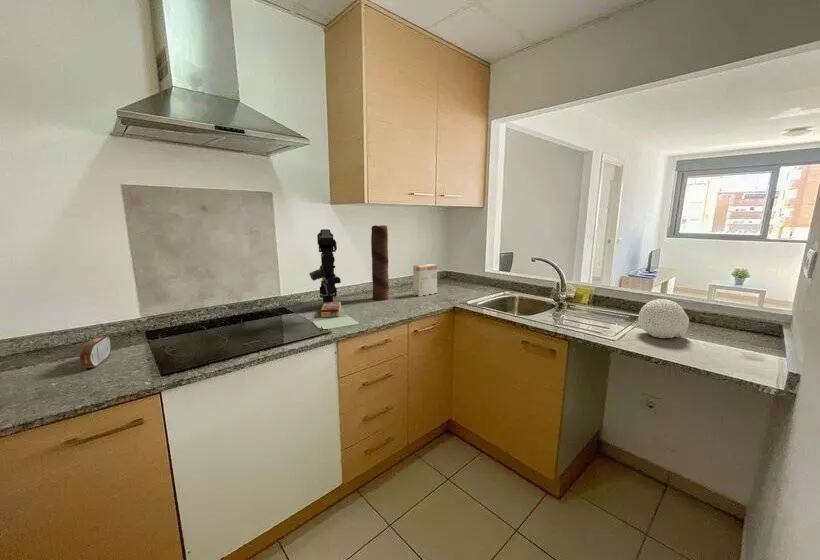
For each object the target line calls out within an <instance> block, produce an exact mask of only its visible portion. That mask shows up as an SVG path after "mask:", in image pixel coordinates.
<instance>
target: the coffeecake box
mask: <svg viewBox="0 0 820 560" xmlns="http://www.w3.org/2000/svg"><path fill="white" fill-rule="evenodd" d="M412 268H413V269H412V270H413V271H412V272H413V274H412V275H413V278H412V279H413V280H412V281H413V284H412V285H413V286H412V287H413V288H412V289H413V294H415V295H414V296H416V295H418V296H417V297H419V296H420V297H424V296H423V295H426V296H430V295H429V294H432V295H435V294H434V293H437V294H438V264H435V263H429V264H428V263H427V264H418V265H413V267H412ZM413 294H412V295H413Z"/></svg>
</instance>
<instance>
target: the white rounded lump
mask: <svg viewBox="0 0 820 560" xmlns="http://www.w3.org/2000/svg"><path fill="white" fill-rule="evenodd" d="M637 321H638V323H637V324H639V326H640V327H641V329H642V330H643V331H644V332H646V334H648V335H650V336H652V337H655V338H660V339H665V338H666V339H667V338H674V337H675V338H679V337H680V336H683V335H685V333H687V331H688V330H689V326H690V325H689V324H690V318H689V316H688V315H687V313H686V311H685V310H684V308H683V307H682V306H681V305H679V303H677V302H675V301H672V300H671V299H667V298H659V299H658V298H657V299H654V300H653V299H652V300H649V301H648V302H646V303H645V304H644V305H643V306H642V307H641V308H640V311H639V312H638V320H637Z"/></svg>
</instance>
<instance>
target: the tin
mask: <svg viewBox="0 0 820 560" xmlns="http://www.w3.org/2000/svg"><path fill="white" fill-rule="evenodd" d="M111 345H112V342H111V338H110V336H108V335H96V336H95V337H94V338H93V337H92V339H90V340H89V341H87V342H85V343H84V344H83V345H82V347H81V350H80V353H79V362H80V366H81V367H82V368H83V369H91V368H97V367H99V365H101V364H102V363H103V362H104V361H106V360H107V359H108V358H109V357H110V355H111V352H112V346H111Z"/></svg>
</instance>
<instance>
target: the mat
mask: <svg viewBox="0 0 820 560" xmlns="http://www.w3.org/2000/svg"><path fill="white" fill-rule="evenodd" d="M312 322H313V323H314V324H313V323H312V324H313V325H314V326H315V327H317V329H319V328H321V327H322V328H323V329H328V330H327V331H329V330H334V329H340V328H345V327H346V328H347V327H352V326H359V325H360V323H359V322H358V321H357V320H355V319H354V318H352V317H351V316H349V315H347V316H339V317H334V318H327V319H321V320H315V321H312Z"/></svg>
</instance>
